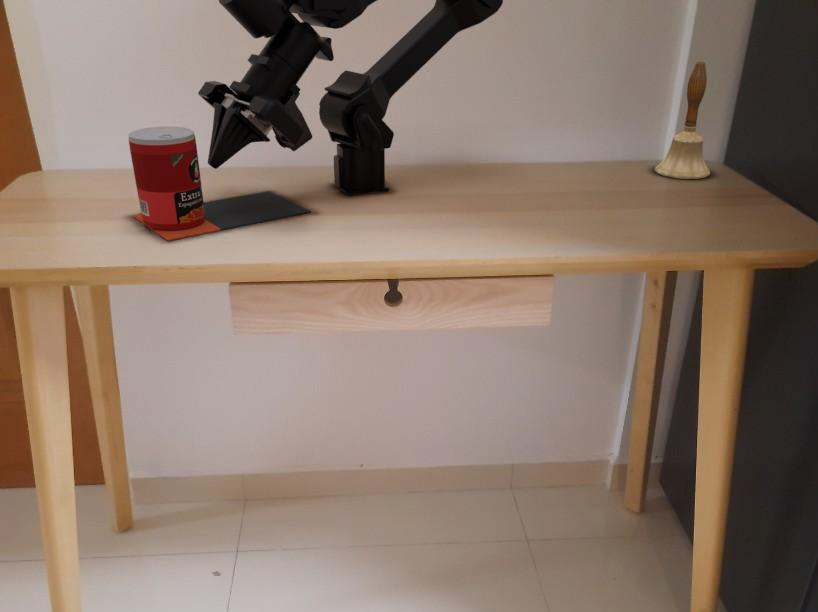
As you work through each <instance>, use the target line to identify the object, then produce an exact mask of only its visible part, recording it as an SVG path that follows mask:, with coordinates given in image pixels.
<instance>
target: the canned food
mask: <svg viewBox="0 0 818 612" xmlns="http://www.w3.org/2000/svg"><path fill="white" fill-rule="evenodd" d="M127 136H128V145H129V151H130V157H131V163H132V169H133V175H134V181H135V185H136V191H137V198H138V202H139V210H140V214H141V215H142V219H143V221H144V223H145V225H146V226H145V225H144V226H145V227H147V226H148V227H150V228H152V229H156V230H183V229H188V228H192V227H195V226H198V225H200V224H201V223H202V222H203V221H204V216H205V210H204V203H205V202H204V195H203V188H202V187H203V186H202V179H201V170H200V161H199V155H198V147H197V139H196V135H195V131H194V130H193V129H190V128H187V127H182V126H153V127H152V126H151V127H144V128H139V129H136V130H133V131H130V132H129V133H128V135H127ZM148 227H147V228H148ZM150 228H149V229H150Z"/></svg>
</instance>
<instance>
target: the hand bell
mask: <svg viewBox="0 0 818 612" xmlns="http://www.w3.org/2000/svg"><path fill="white" fill-rule="evenodd" d="M707 76H708V75H707V68H706V62H704V61H696V62H695V64H694V68H693V69H692V71H691V74H690V76H689V79H688V82H687V89H686V99H687V109H686V110H687V111H686V116H685V121H684V127H683V131H682V132H680V133H677V134H676V135H674V136H673V137H672V140H671V144H670V147H669V149H668V152H667V154H666V156H665V157H664V159H663V160H662V161H661V162H659V163H658V164H657V165H656V166H655V167H654V172H655V173H656V174H658V175H660V176H663V177H667V178H671V179H678V180H699V179H700V180H701V179H705V178H708V177H710V175H711V172H710V169H709V167H708V166H707V164H706V163H705V159H704V138H703V137H702V136H701V135H699V134H698V133H697V120H698V114H699V108H700V105H701V103H702V101H703V98H704V96H705V93H706V88H707V84H708V83H707V82H708V81H707V79H708V77H707Z"/></svg>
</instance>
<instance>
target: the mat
mask: <svg viewBox="0 0 818 612" xmlns="http://www.w3.org/2000/svg"><path fill="white" fill-rule="evenodd" d="M204 210H205V216H204V219H205V220H207V221H208V222H210V223H212V224H213V225H215V226H217V227H218V228H220V229H221V231H226V230H230V229H231V230H232V229H235V228H240V227H245V226H250V225H251V226H252V225H255V224H260V223H265V222H270V221H275V220H280V219H285V218H291V217H296V216H301V215H306V214H311V213H312V210H310V209H308V208H305V207H304V206H302V205H299V204H296V203H295V202H293V201H291V200H289V199H287V198H285V197H282V196H280V195H278V194H276V193H274V192H273V191H270V190H268V191H262V192H257V193H251V194H246V195H239V196H235V197H229V198H228V197H227V198H223V199H217V200H211V201H205V202H204Z"/></svg>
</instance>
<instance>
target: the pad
mask: <svg viewBox="0 0 818 612" xmlns="http://www.w3.org/2000/svg"><path fill="white" fill-rule="evenodd" d="M132 217H133V218H134V219H135V220H137V221H138V222H140V224H142V225H144V226H145V227H147V228H148V229H150V230H151V231H152V232H153V233H155V234H157V235H158V236H159V237H161V238H162V239H164V240H165V241H166V242H171V241H175V240H180V239H185V238H186V239H187V238H191V237H196V236H201V235H205V234H210V233H211V234H212V233H215V232H220V231H222V230H221V229H220V228H218V227H217V226H215V225H213V224H212V223H210V222H208V221H207V220H205V219H204V221H203V222H202V223H201V224H200V225H198V226H195V227H192V228H188V229H183V230H156V229H152V228H150V227H148V226H146V225H145V223H144V221H143V219H142V215H141V213H138V214H133V215H132Z"/></svg>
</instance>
